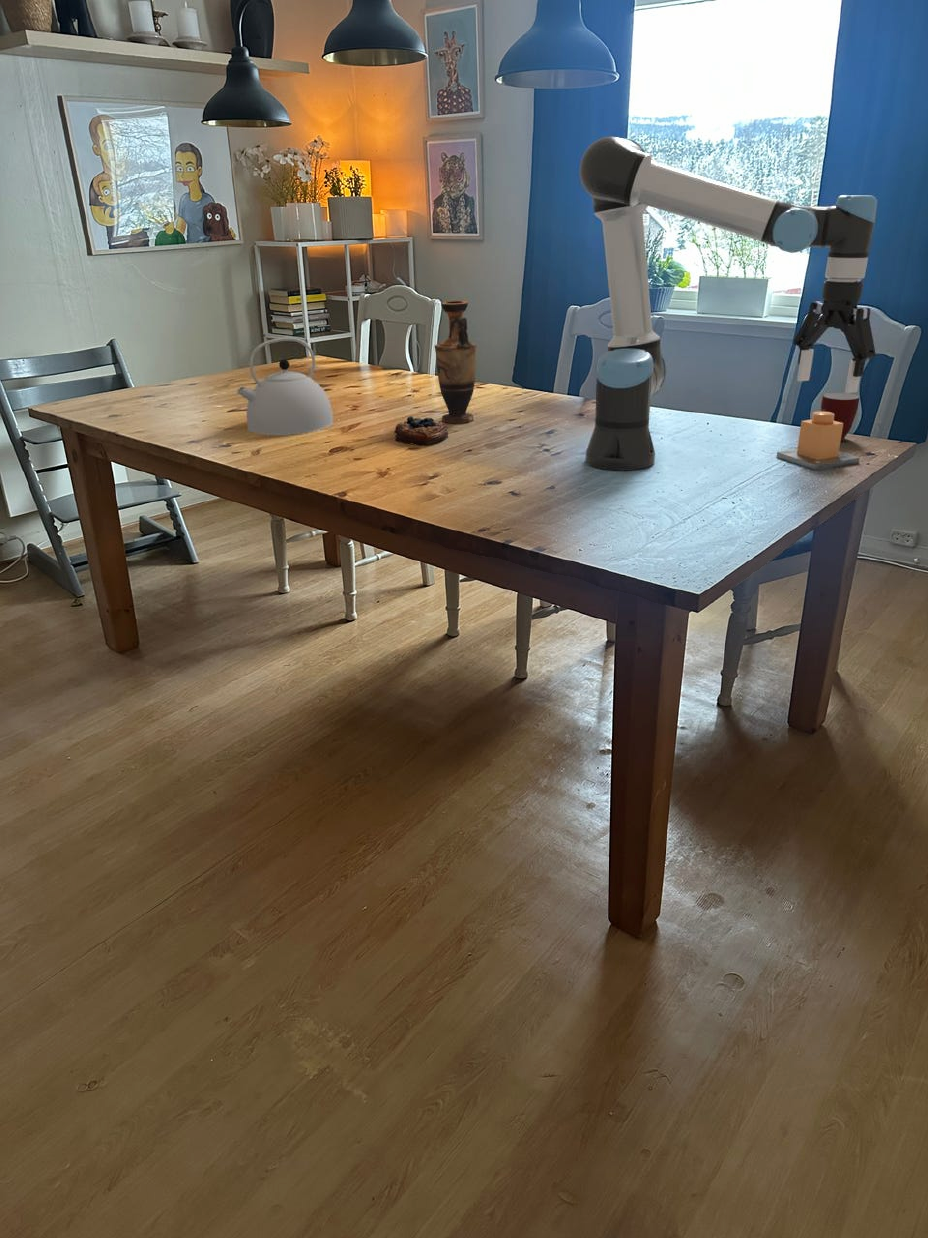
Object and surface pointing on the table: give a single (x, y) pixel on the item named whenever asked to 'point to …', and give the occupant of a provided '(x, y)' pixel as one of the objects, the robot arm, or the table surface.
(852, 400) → the mug
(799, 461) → the plate
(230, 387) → the table surface
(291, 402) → the kettle
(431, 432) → the pastry
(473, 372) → the vase
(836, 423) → the orange block
